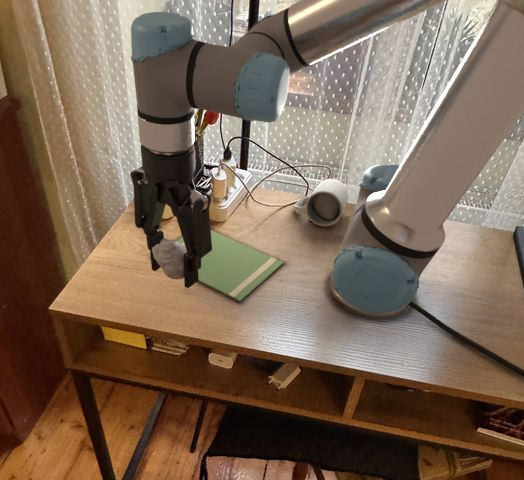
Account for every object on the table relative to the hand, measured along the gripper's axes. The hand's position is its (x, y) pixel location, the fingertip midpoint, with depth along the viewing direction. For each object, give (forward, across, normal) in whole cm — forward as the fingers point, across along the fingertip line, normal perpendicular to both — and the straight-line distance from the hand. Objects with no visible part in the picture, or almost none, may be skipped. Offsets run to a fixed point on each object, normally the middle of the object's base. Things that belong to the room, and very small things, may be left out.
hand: (174, 274), depth 92 cm
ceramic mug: (+4, -7, -38) cm, 39 cm away
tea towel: (+4, 0, -12) cm, 13 cm away
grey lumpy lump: (0, 0, 0) cm, 0 cm away
